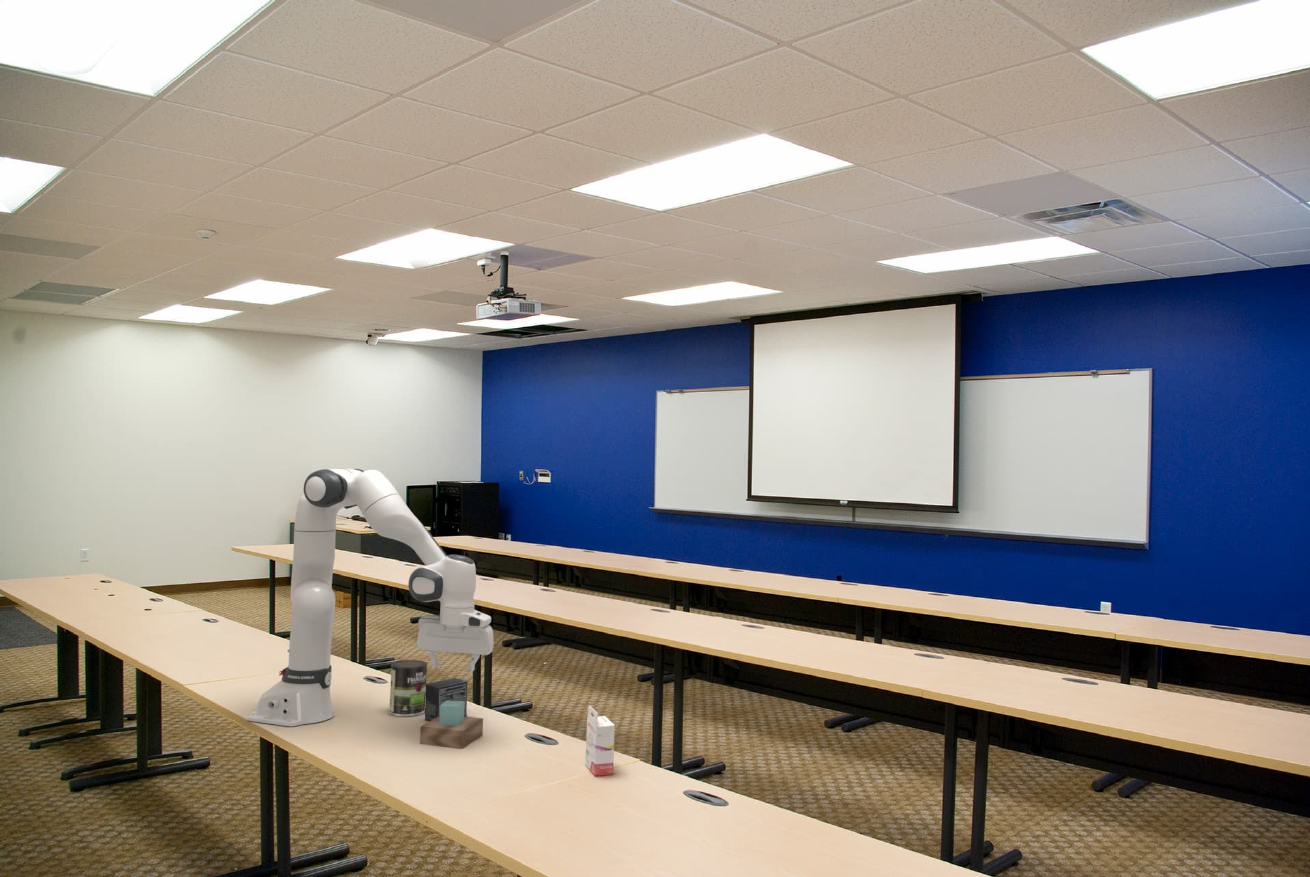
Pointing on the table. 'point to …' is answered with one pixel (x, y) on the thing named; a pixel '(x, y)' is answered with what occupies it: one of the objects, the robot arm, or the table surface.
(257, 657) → the table surface
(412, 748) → the table surface
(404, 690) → the coffee can
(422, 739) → the walnut base block
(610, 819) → the table surface
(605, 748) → the ink cartridge box
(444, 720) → the teal cube
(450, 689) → the small box
